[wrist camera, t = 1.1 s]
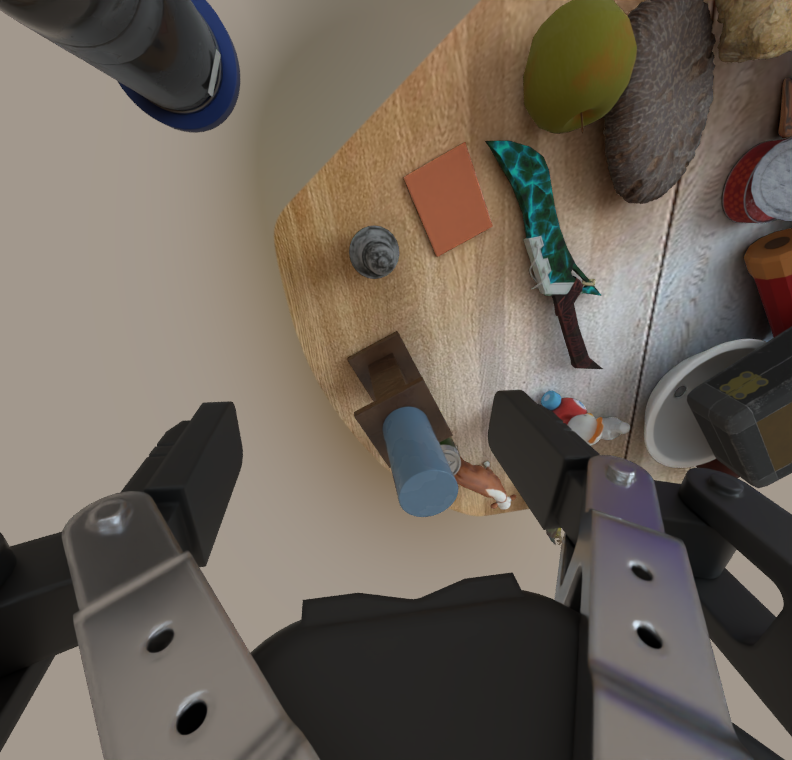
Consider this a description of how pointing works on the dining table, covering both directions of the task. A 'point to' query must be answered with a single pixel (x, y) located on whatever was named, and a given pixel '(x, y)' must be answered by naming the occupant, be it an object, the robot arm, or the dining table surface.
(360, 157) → the dining table surface
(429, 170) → the tile
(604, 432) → the bone
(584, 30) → the apple
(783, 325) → the red tube
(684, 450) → the soup bowl
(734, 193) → the canned food
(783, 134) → the pottery shard
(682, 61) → the decorative stone
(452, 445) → the beer can
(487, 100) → the dining table surface
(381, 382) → the stand
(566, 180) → the dining table surface
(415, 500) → the blue cylinder
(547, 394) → the toy car
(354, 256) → the chess piece
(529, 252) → the knife
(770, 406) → the jewelry box
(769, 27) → the beige rough lump
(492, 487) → the bull figurine
